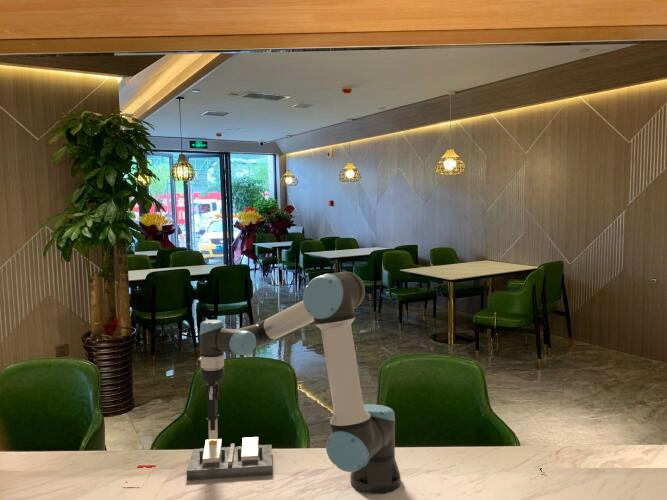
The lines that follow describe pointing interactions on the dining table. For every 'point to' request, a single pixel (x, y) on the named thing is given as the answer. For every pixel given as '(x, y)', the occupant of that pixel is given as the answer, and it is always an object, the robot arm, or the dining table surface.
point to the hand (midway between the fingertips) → (213, 438)
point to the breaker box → (230, 464)
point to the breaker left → (212, 450)
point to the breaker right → (250, 448)
